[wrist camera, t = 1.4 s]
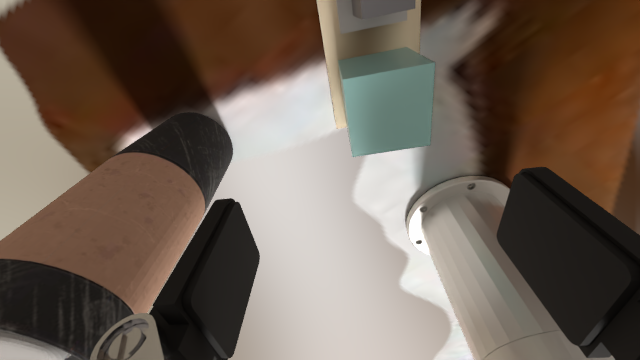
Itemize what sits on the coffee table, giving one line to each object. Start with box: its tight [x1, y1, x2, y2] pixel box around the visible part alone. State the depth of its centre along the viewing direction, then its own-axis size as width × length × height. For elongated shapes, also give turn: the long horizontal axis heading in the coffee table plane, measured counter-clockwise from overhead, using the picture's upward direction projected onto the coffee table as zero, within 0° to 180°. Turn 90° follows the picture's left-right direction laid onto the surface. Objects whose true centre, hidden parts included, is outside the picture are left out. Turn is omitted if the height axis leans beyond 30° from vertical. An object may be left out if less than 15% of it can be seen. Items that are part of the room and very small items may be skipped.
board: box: [317, 0, 421, 129], centre depth 21 cm, size 8×14×1 cm, turn 10°
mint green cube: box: [338, 47, 435, 157], centre depth 20 cm, size 6×6×6 cm
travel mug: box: [0, 113, 233, 360], centre depth 19 cm, size 8×8×20 cm
